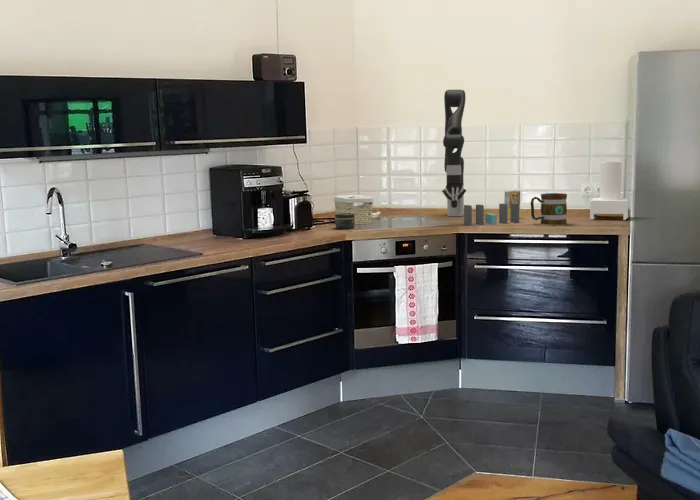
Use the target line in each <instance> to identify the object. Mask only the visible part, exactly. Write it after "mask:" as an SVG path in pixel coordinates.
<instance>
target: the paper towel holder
mask: <svg viewBox="0 0 700 500" xmlns="http://www.w3.org/2000/svg"><path fill="white" fill-rule="evenodd" d="M622 162H623V161H618V160H617V161H613V160H612V161H600V162H599V164H600V165H599V167H600V168H599V197H593V198H592V199H591V200H590V201H589V202H590V204H589V207H590V208H589V210H590V211H589V220H595V216H594V215H597V216H598V215H600V214H605V215H606V214H608V215H609V214H614V215H623V218H622V220H623V221H627V220H626V219H627V218H628V219H629V216H628V199H627V198H628V197H622V171H623V163H622Z"/></svg>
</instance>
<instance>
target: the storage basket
mask: <svg viewBox="0 0 700 500" xmlns="http://www.w3.org/2000/svg"><path fill="white" fill-rule="evenodd" d="M333 198H334V199H333V202H334V207H335V208H334V212H335V213H334V215H335V214H338V213H353V214H354V216H355V218H354V220H355V225H368V224H371V223H372V221H373V220H372V219H373V217H372V216H373V204H374V197H373V196H369V195H363V194H350V195H349V194H348V195H335V196H334V197H333Z"/></svg>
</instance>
